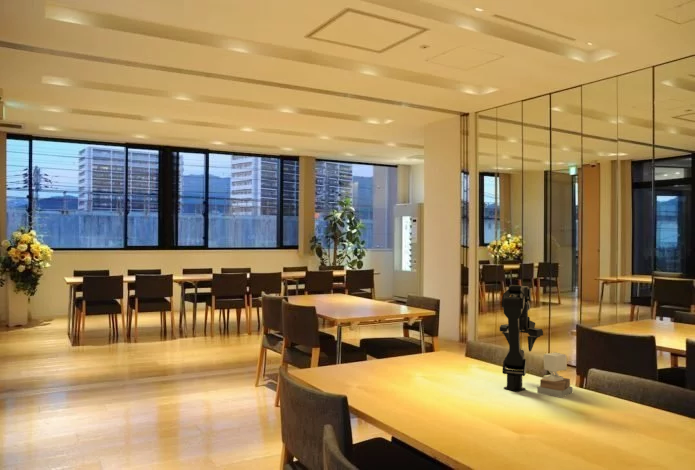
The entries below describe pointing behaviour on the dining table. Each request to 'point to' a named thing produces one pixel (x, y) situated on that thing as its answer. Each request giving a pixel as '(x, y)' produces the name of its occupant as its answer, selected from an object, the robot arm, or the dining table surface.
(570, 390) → the tower base
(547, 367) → the security camera
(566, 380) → the tower top
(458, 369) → the dining table surface
